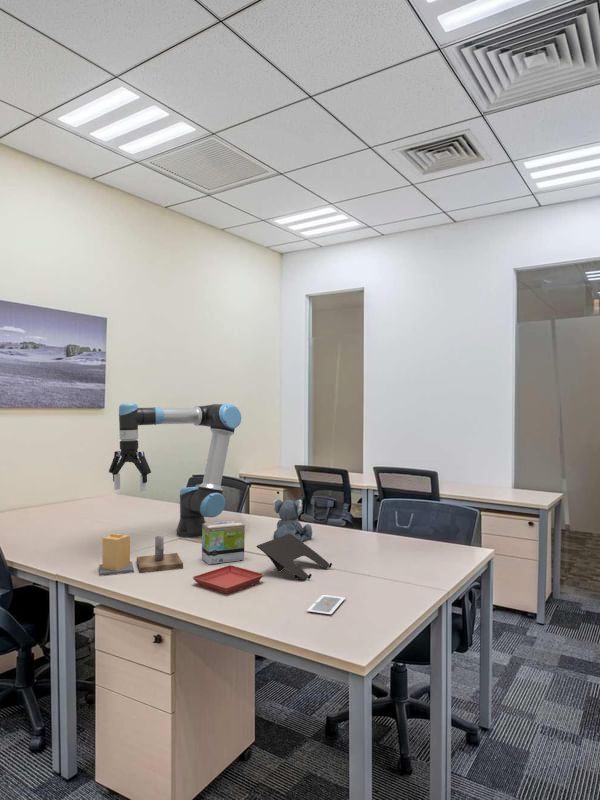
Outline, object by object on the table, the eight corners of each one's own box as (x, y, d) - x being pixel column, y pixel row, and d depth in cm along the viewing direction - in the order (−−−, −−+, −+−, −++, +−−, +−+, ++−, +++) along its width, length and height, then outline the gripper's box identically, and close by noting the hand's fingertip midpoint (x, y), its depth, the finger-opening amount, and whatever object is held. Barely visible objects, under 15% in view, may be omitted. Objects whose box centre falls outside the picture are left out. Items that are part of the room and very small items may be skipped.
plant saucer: (226, 597, 176) (226, 587, 176) (191, 586, 188) (191, 576, 188) (264, 583, 190) (264, 574, 190) (230, 573, 202) (230, 564, 202)
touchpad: (345, 601, 173) (345, 594, 173) (331, 617, 159) (331, 610, 159) (322, 598, 176) (322, 591, 176) (306, 614, 162) (306, 607, 162)
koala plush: (314, 538, 255) (314, 496, 255) (299, 547, 239) (298, 502, 239) (281, 534, 262) (281, 494, 262) (264, 543, 246) (264, 500, 246)
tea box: (209, 565, 211) (209, 527, 211) (201, 559, 220) (201, 523, 220) (245, 560, 218) (244, 523, 218) (236, 554, 227) (236, 519, 227)
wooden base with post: (177, 557, 222) (177, 531, 222) (183, 568, 207) (183, 539, 207) (136, 561, 216) (136, 534, 217) (139, 573, 201) (139, 543, 202)
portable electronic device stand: (296, 599, 191) (306, 577, 189) (249, 561, 201) (258, 540, 199) (327, 581, 210) (336, 561, 208) (283, 547, 221) (291, 528, 219)
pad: (131, 563, 214) (131, 561, 214) (133, 572, 203) (133, 569, 203) (99, 567, 210) (99, 564, 210) (99, 576, 198) (99, 573, 198)
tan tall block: (129, 565, 208) (129, 533, 208) (116, 570, 201) (116, 537, 202) (115, 563, 211) (115, 531, 211) (102, 568, 204) (102, 535, 205)
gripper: (99, 440, 230) (100, 490, 230) (147, 440, 220) (148, 492, 220) (111, 439, 237) (112, 487, 237) (158, 439, 227) (160, 489, 227)
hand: (130, 490), depth 229 cm, fingers open, 13 cm apart
